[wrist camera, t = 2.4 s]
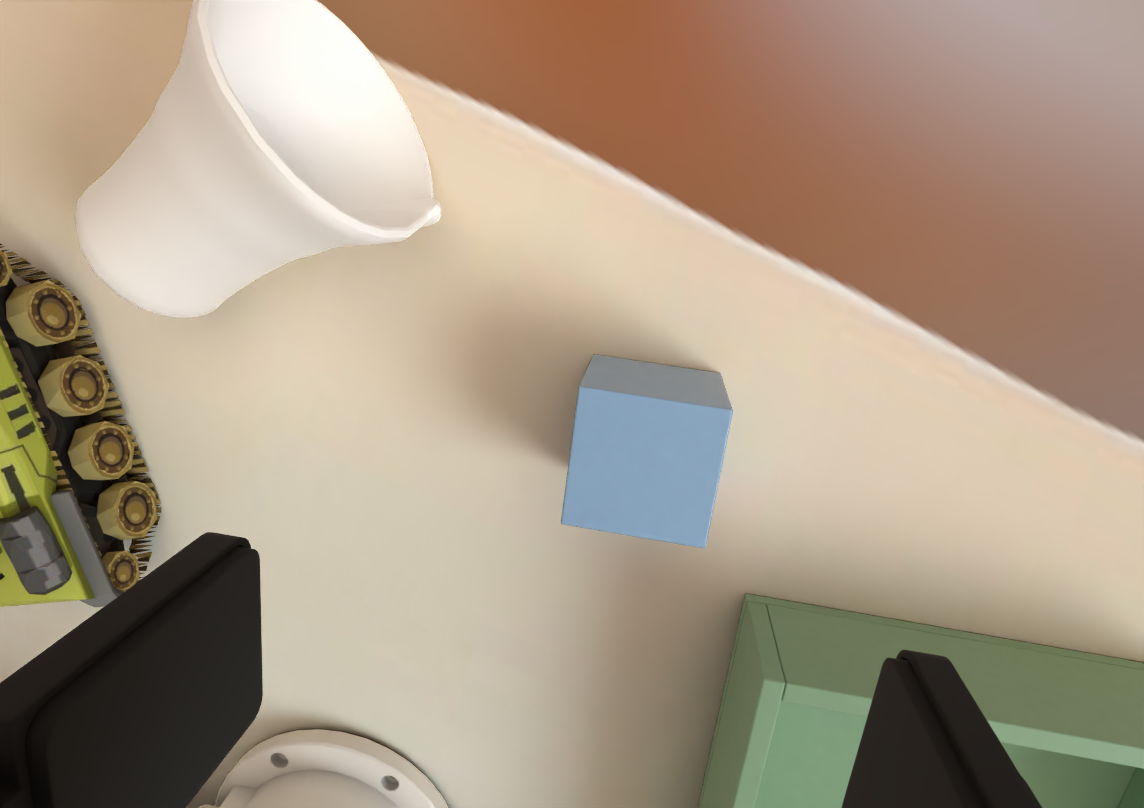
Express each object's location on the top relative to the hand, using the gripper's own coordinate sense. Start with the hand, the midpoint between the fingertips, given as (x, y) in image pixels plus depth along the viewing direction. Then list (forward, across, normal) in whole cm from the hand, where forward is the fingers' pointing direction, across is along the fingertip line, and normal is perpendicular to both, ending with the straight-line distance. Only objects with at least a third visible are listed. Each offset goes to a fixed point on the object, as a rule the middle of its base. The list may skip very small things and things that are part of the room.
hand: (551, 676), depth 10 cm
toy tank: (+18, +25, +5) cm, 31 cm away
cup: (+16, +18, -3) cm, 24 cm away
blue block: (+18, -1, +2) cm, 18 cm away
